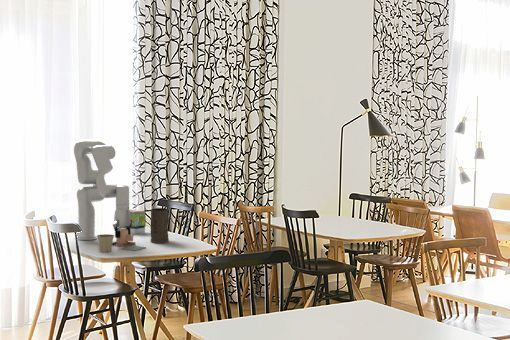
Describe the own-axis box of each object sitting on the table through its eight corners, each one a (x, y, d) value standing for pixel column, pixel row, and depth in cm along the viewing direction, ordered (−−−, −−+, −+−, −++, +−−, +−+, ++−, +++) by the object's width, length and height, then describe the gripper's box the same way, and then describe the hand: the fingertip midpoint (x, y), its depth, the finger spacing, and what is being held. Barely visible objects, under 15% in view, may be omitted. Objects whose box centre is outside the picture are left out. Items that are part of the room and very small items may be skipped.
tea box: (145, 232, 414) (145, 210, 413) (134, 234, 405) (134, 211, 404) (128, 230, 422) (128, 208, 421) (117, 232, 413) (117, 209, 412)
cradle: (109, 245, 364) (109, 242, 364) (120, 243, 373) (120, 240, 373) (125, 247, 360) (125, 244, 360) (135, 244, 369) (135, 242, 368)
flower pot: (98, 249, 351) (98, 234, 350) (115, 249, 352) (115, 234, 351) (95, 252, 342) (95, 236, 341) (113, 252, 342) (113, 236, 342)
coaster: (120, 249, 353) (120, 248, 353) (131, 246, 362) (131, 245, 362) (135, 250, 349) (135, 249, 349) (146, 248, 358) (146, 247, 358)
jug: (114, 245, 364) (114, 230, 364) (120, 244, 370) (121, 228, 370) (128, 247, 360) (129, 231, 360) (135, 245, 366) (135, 230, 365)
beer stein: (164, 244, 372) (165, 210, 371) (147, 243, 375) (147, 209, 373) (173, 240, 387) (173, 207, 386) (156, 239, 390) (157, 206, 389)
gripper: (126, 205, 374) (126, 234, 375) (107, 208, 358) (108, 238, 359) (136, 205, 371) (137, 235, 372) (118, 208, 355) (119, 239, 356)
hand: (122, 236), depth 365 cm, fingers open, 9 cm apart
